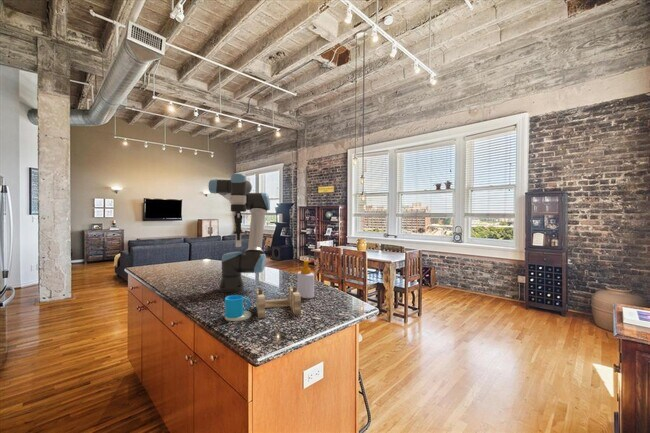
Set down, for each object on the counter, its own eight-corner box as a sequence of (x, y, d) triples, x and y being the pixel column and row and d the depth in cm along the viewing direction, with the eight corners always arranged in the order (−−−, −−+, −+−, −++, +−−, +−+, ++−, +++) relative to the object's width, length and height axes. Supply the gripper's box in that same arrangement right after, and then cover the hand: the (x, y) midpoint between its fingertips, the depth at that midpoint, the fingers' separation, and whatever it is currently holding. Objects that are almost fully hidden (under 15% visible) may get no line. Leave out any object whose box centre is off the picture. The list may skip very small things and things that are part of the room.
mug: (229, 319, 131) (229, 301, 131) (222, 314, 138) (222, 297, 137) (253, 313, 139) (253, 296, 139) (245, 309, 146) (245, 292, 145)
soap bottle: (317, 297, 169) (317, 262, 169) (305, 299, 164) (305, 263, 164) (305, 291, 180) (306, 258, 180) (294, 293, 175) (294, 260, 175)
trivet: (225, 313, 142) (225, 311, 142) (250, 311, 145) (250, 309, 145) (224, 322, 130) (224, 320, 130) (251, 319, 133) (251, 318, 133)
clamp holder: (256, 306, 152) (256, 285, 151) (294, 303, 157) (294, 283, 157) (258, 318, 136) (258, 294, 136) (300, 314, 141) (301, 291, 141)
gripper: (231, 204, 162) (231, 242, 162) (230, 203, 138) (230, 248, 138) (245, 204, 164) (245, 242, 164) (246, 203, 140) (246, 248, 140)
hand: (238, 245), depth 151 cm, fingers open, 13 cm apart
